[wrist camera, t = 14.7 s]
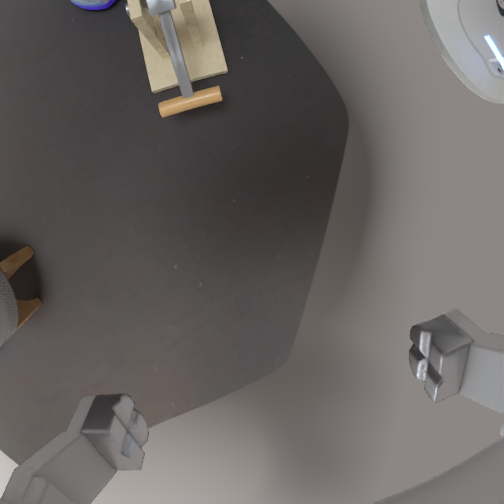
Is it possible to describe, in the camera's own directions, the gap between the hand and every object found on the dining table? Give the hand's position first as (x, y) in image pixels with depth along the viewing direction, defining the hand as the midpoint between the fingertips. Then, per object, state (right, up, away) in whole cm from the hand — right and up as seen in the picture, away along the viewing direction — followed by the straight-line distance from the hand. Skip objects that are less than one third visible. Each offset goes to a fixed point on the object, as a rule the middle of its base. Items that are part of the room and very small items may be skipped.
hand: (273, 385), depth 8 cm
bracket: (-9, +29, +23) cm, 38 cm away
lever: (-8, +23, +16) cm, 29 cm away
